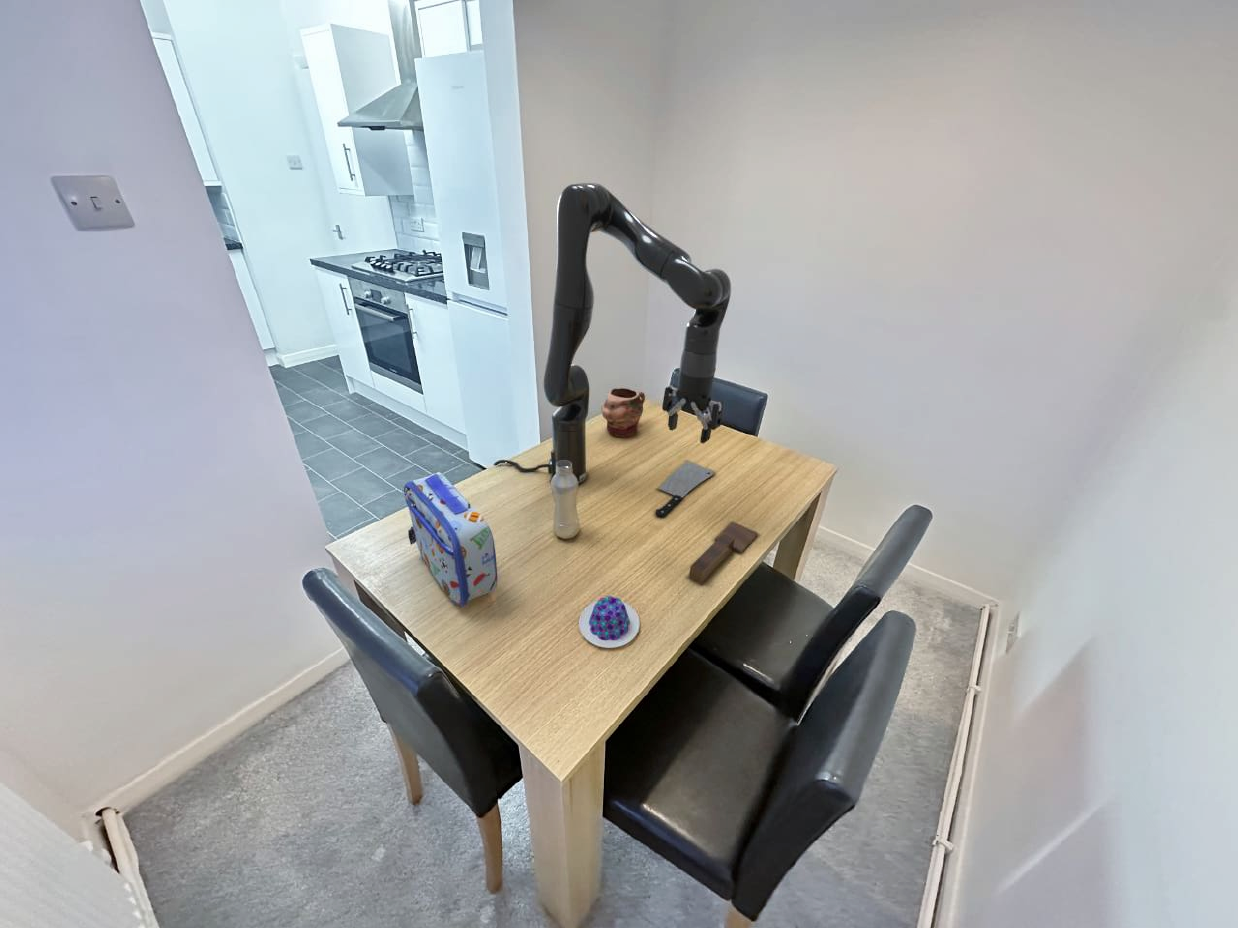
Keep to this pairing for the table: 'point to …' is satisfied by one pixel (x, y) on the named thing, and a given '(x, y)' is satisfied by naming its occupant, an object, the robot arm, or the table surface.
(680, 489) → the cleaver
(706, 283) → the robot arm
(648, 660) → the table surface
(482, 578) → the lunch box
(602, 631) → the pudding
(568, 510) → the plastic bottle
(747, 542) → the spatula
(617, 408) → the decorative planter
